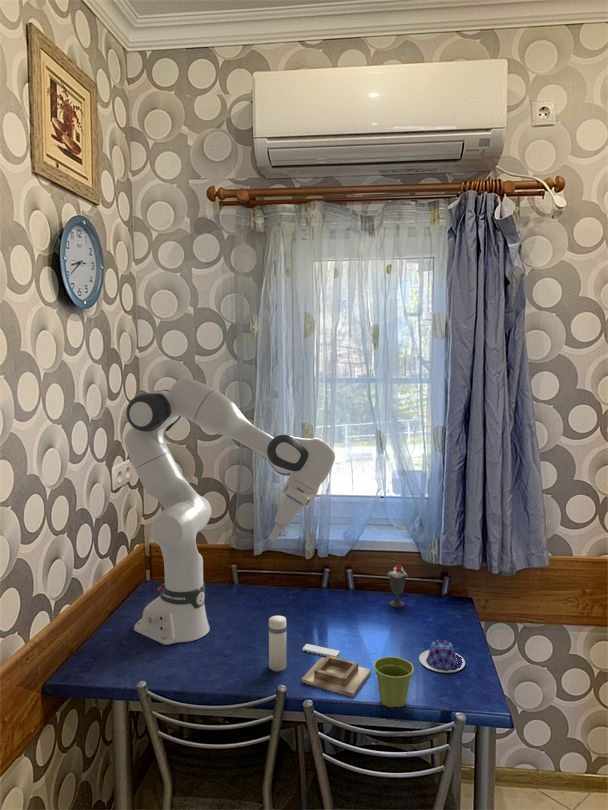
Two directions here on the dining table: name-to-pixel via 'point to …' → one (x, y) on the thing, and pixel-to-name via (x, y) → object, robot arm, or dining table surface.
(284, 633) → the grooved cream capsule
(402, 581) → the sundae
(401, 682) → the plant pot
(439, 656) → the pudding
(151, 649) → the dining table surface
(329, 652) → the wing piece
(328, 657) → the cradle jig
